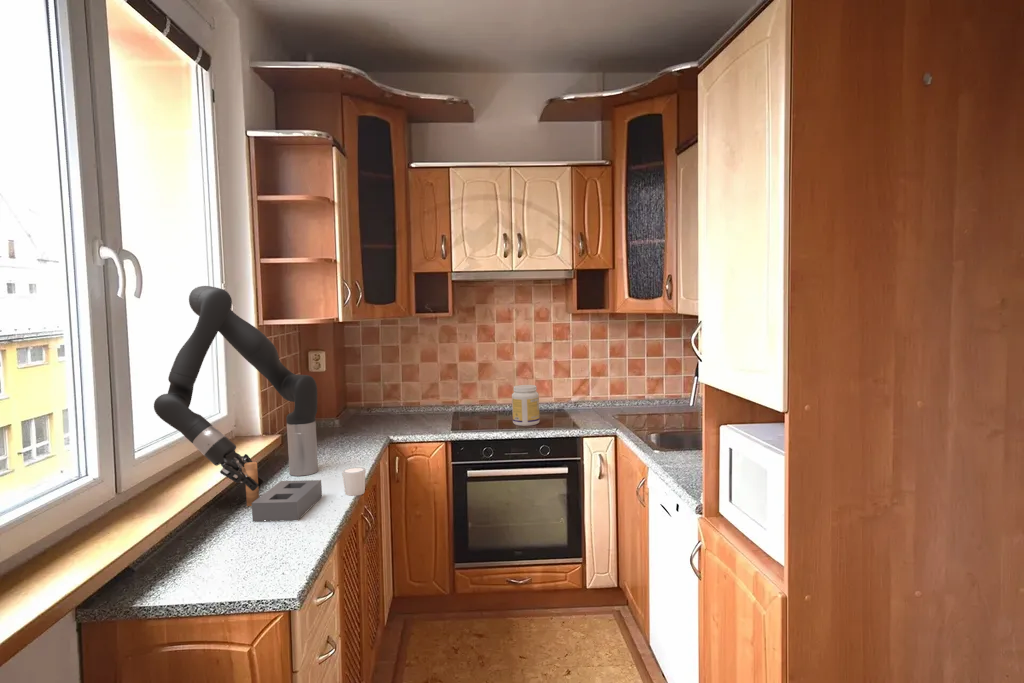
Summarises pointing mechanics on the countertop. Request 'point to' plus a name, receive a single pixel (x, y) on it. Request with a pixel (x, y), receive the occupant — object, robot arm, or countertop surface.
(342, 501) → the countertop surface
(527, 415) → the supplement tub
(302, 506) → the hole block
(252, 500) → the peg
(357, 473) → the shot glass
